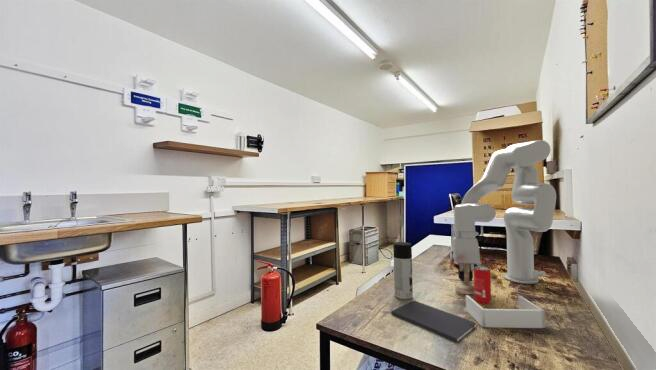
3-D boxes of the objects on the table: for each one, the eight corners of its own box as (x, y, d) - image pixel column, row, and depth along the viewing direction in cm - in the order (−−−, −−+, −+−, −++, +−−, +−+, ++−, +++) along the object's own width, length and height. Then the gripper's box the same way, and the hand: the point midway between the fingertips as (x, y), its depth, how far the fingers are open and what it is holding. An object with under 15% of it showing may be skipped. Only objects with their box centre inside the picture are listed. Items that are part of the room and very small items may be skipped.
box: (521, 311, 89) (520, 295, 89) (545, 328, 78) (545, 310, 78) (466, 310, 90) (465, 295, 90) (482, 327, 79) (482, 310, 79)
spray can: (413, 300, 98) (412, 245, 98) (394, 299, 99) (393, 245, 100) (411, 293, 105) (410, 241, 105) (393, 292, 106) (393, 241, 106)
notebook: (391, 315, 88) (457, 344, 72) (391, 310, 88) (457, 338, 72) (413, 304, 96) (477, 328, 80) (413, 300, 96) (477, 322, 80)
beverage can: (471, 299, 99) (470, 266, 99) (484, 298, 99) (484, 265, 99) (480, 305, 94) (479, 270, 94) (494, 304, 94) (493, 269, 94)
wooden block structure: (478, 285, 112) (477, 259, 112) (490, 294, 103) (489, 265, 103) (448, 285, 112) (448, 259, 112) (457, 294, 103) (457, 265, 103)
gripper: (480, 233, 113) (481, 277, 113) (441, 233, 114) (442, 277, 114) (490, 236, 106) (491, 283, 106) (448, 236, 107) (448, 283, 107)
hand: (465, 279), depth 110 cm, fingers closed on wooden block structure, 2 cm apart
